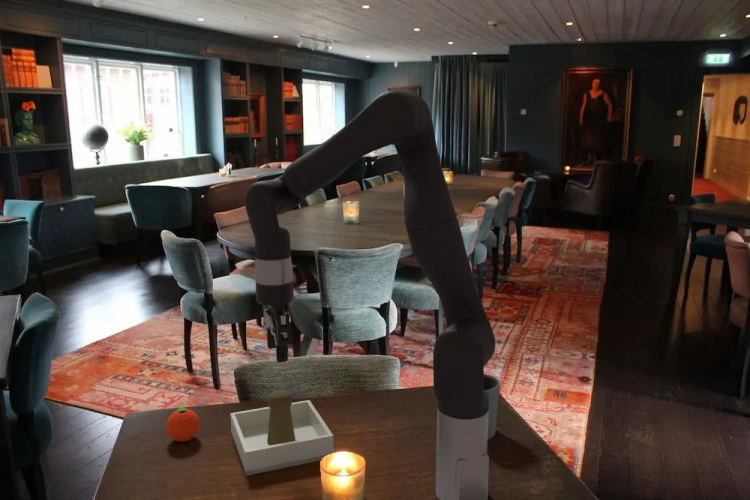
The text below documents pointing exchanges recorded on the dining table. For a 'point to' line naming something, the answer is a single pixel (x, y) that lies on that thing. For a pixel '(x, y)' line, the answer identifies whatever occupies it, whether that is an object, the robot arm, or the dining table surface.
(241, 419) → the serving bin
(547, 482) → the dining table surface
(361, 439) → the dining table surface
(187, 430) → the clementine
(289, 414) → the olive pepper mill
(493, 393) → the grey round pot
